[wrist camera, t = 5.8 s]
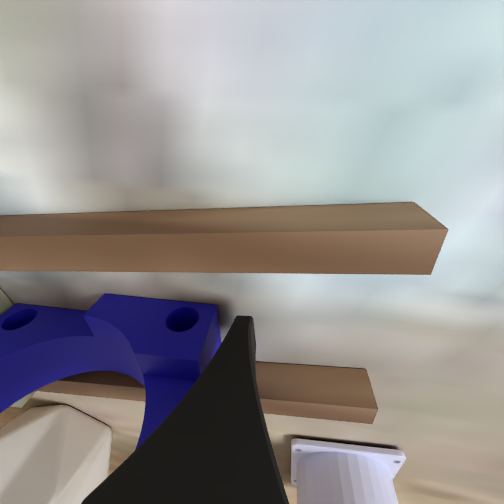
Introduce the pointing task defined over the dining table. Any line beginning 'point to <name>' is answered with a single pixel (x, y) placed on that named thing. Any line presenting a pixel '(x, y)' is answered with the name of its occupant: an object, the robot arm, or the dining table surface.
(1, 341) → the cable clip
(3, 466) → the vase
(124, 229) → the guide
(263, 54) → the dining table surface
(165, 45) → the dining table surface
